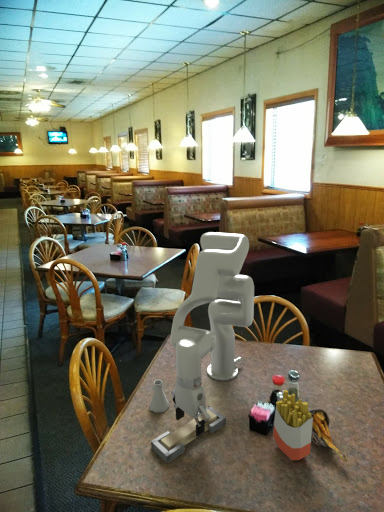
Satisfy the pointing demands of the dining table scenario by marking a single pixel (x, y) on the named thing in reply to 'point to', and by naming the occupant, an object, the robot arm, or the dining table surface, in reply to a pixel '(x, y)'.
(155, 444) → the end cap
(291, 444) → the french fries container
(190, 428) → the birch slat
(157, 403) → the flask
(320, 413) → the fried food
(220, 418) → the end cap
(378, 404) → the dining table surface
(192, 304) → the robot arm
